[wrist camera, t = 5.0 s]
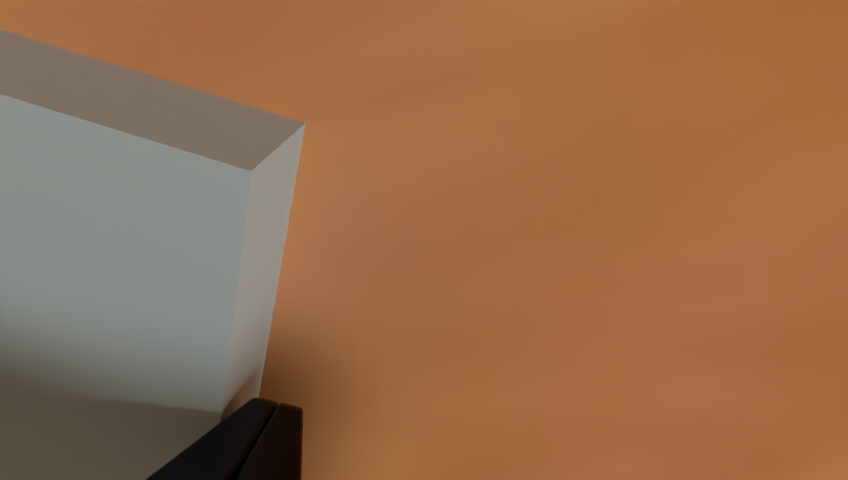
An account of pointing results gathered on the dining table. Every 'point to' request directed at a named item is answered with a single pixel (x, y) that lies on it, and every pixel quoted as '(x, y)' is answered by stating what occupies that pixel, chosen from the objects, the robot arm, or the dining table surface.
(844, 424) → the dining table surface
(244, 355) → the pale grey box
